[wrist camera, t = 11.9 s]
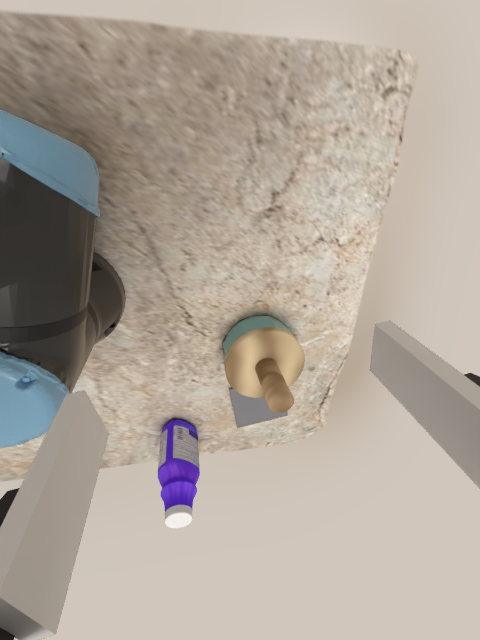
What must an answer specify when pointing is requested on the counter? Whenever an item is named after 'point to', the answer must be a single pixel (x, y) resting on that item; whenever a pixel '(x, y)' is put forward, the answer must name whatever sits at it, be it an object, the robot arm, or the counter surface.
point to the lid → (265, 366)
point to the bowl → (250, 328)
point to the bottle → (178, 471)
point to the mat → (251, 409)
